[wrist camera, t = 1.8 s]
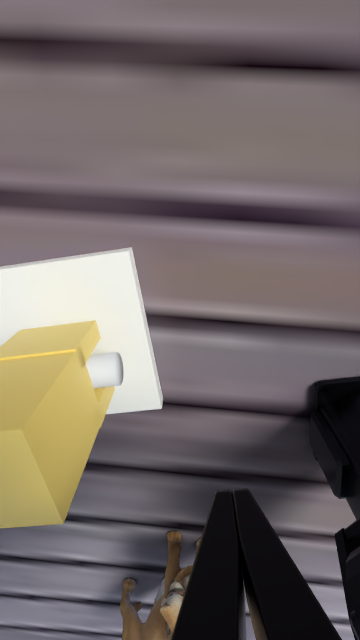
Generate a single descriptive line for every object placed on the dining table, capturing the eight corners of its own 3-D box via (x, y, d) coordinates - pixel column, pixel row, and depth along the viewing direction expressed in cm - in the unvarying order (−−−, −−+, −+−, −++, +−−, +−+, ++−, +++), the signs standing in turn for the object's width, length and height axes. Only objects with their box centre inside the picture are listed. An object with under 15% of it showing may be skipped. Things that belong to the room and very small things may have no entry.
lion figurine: (173, 495, 24) (165, 655, 16) (234, 515, 25) (256, 679, 17) (114, 592, 30) (85, 748, 21) (165, 606, 30) (156, 763, 22)
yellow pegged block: (95, 320, 15) (20, 426, 9) (114, 389, 17) (64, 525, 10) (20, 329, 16) (-112, 439, 9) (46, 396, 17) (-49, 534, 10)
